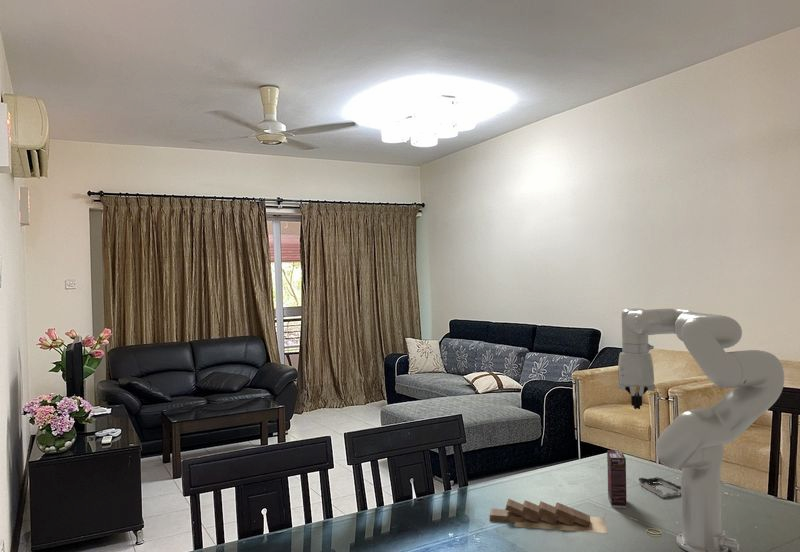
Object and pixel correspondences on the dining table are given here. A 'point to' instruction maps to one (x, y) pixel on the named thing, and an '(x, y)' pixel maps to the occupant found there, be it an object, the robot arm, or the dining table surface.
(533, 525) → the light wooden board
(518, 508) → the domino
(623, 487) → the supplement box
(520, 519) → the domino
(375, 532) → the dining table surface
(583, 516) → the domino
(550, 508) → the domino
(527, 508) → the domino
